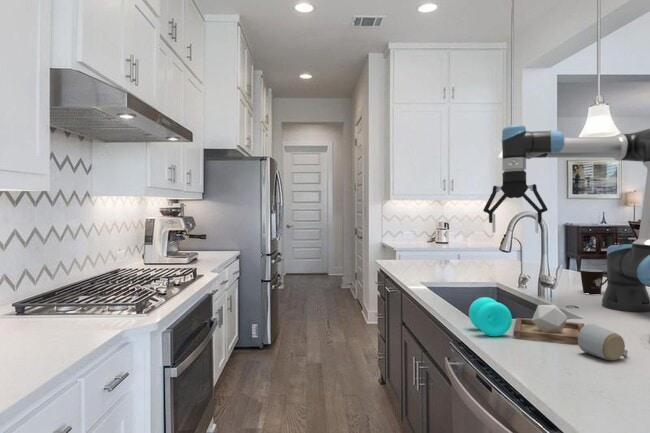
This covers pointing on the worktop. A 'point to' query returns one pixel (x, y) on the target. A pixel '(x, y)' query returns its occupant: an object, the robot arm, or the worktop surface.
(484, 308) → the donuts
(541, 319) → the die
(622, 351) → the ceramic mug
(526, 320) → the tray
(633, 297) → the robot arm
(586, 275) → the coffee mug
